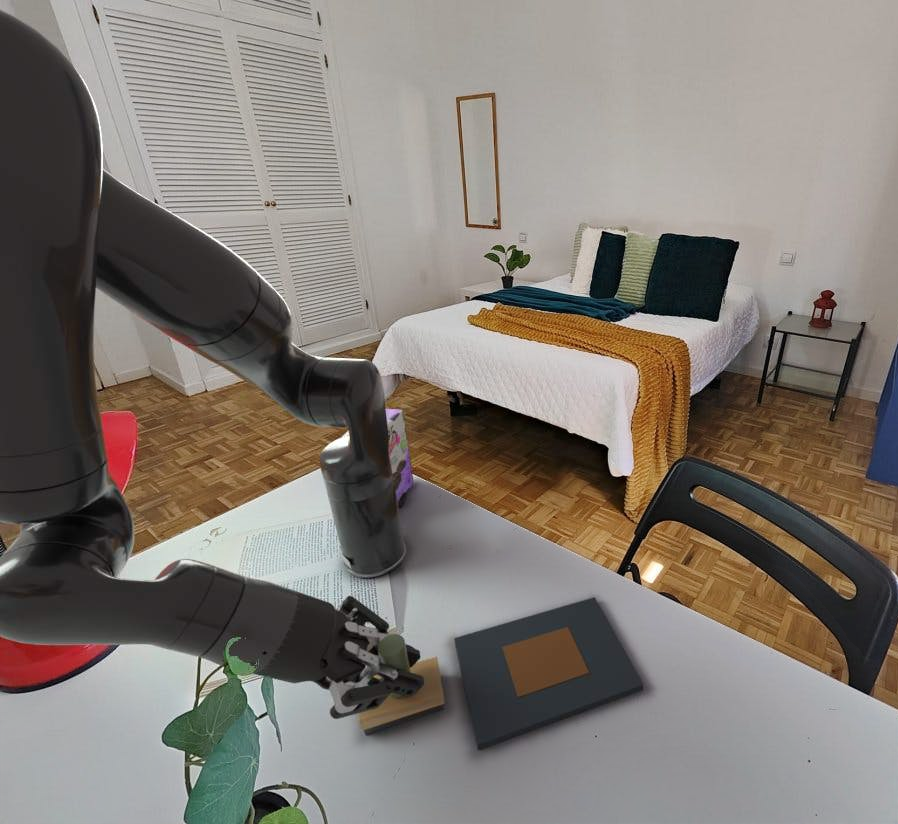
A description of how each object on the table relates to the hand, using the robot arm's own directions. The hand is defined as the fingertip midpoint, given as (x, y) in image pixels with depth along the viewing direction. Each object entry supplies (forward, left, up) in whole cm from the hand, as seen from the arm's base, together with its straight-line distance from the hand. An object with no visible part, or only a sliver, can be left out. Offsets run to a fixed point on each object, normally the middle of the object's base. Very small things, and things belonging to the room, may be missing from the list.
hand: (416, 672), depth 56 cm
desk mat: (+1, +15, -4) cm, 16 cm away
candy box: (-40, -2, -5) cm, 40 cm away
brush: (0, -2, -4) cm, 5 cm away
